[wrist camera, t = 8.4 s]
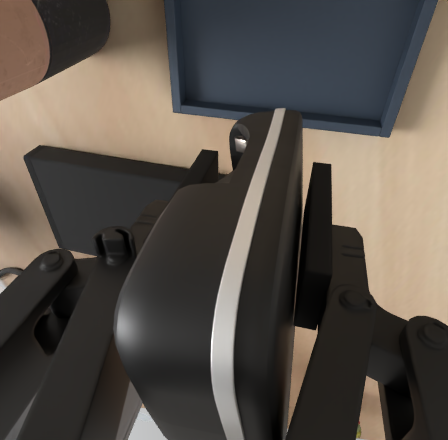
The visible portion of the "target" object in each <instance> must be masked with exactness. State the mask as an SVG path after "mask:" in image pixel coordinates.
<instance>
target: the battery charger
mask: <svg viewBox="0 0 448 440" xmlns="http://www.w3.org/2000/svg"><path fill="white" fill-rule="evenodd" d="M229 142H230V153H231V160H232V167H233V171H232V172H231V173H229V174H228V175H227V176H225V177H224V178H222V179H221V180H219V181H217V182H216V183H203V184H193V185H188V186H186V187H183V188H181V189H178V191H177V192H176V194H175V195H174V197H173V198H172V200H171V201H170V203H169V204H168V205H167V207H166V208H165V210H164V211H163V212H162V214H161V215H160V217H159V218H158V220H157V221H156V223H155V225H154V227H153V228H152V230H151V232H150V234H149V235H148V237H147V239H146V241H145V243H144V245H143V247H142V248H141V250H140V252H139V254H138V256H137V258H136V260H135V262H134V264H133V266H132V267H131V269H130V271H129V273H128V275H127V277H126V280H125V282H124V284H123V286H122V289H121V291H120V293H119V297H118V301H117V304H116V308H115V313H114V326H113V330H114V337H115V344H116V347H117V350H118V353H119V356H120V359H121V361H122V364H123V366H124V369H125V371H126V373H127V375H128V377H129V379H130V380H131V382H132V384H133V386H134V388H135V390H136V391H137V393H138V395H139V397H140V399H141V400H142V402H143V404H144V406H145V408H146V409H147V411H148V412H149V414H150V415H151V417H152V419H153V420H154V422H155V423H156V424H157V426H158V428H159V429H160V430H161V432H162V433H163V435H164V436H165V437H166V438H167V439H168V440H285V438H286V434H287V423H288V411H289V398H290V385H291V373H292V360H293V347H294V334H295V326H293V321H294V311H295V300H296V290H297V280H298V269H299V259H300V248H301V238H302V207H303V139H302V115H301V113H300V112H299V111H297V110H286V108H277V109H275V111H263V112H258V113H254V114H250V115H247V116H245V117H243V118H241V119H240V120H238V121H237V122H236V123H235V124H234V126H233V128H232V130H231V132H230V136H229Z"/></svg>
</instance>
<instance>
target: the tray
mask: <svg viewBox="0 0 448 440" xmlns="http://www.w3.org/2000/svg"><path fill="white" fill-rule="evenodd" d="M437 2H438V0H164V8H165V20H166V32H167V44H168V56H169V68H170V80H171V92H172V104H173V112H174V113H182V114H190V115H199V116H208V117H216V118H225V119H233V120H240V119H241V118H243V117H245V116H247V115H250V114H254V113H258V112H263V111H275V109H277V108H286V110H297V111H299V112H300V113H301V115H302V128H310V129H319V130H328V131H336V132H345V133H353V134H362V135H370V136H379V137H387V138H389V137H390V135H391V132H392V129H393V126H394V123H395V121H396V118H397V115H398V112H399V109H400V106H401V104H402V101H403V98H404V95H405V92H406V90H407V87H408V84H409V81H410V78H411V76H412V73H413V70H414V67H415V64H416V61H417V59H418V56H419V53H420V50H421V47H422V45H423V42H424V39H425V36H426V33H427V31H428V28H429V25H430V22H431V19H432V16H433V14H434V11H435V8H436V5H437Z"/></svg>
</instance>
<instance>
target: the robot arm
mask: <svg viewBox="0 0 448 440" xmlns="http://www.w3.org/2000/svg"><path fill="white" fill-rule="evenodd" d="M217 181H218V151H212V150H203V149H202V151H201V152H200V154H199V155H198V157H197V158H196V160H195V162H194V163H193V165H192V166H191V168H190V169H189V171H188V172H187V174H186V176H185V177H184V179H183V180H182V182H181V183H180V185H179V186H178V188H177V190H176V191H175V193H174V194H173V196H172V197H171V199H170V200H169V201H163V200H157V199H156V200H154V201H153V202H151V203H150V204H148V205H147V206H146V207H145V208H144V210H143V211H142V212H141V214H140V216H139V217H138V218H137V219H136V222H134V224H133V225H132V226H131V228H130V229H128V228H126V227H123V226H111V227H107V228H104V229H102V230H100V231H99V232H97V233H96V234H95V235H94V236H93V237H92V242H93V245H94V248H95V251H96V254H97V257H94V258H84V259H74V256H73V255H72V253H71V252H70V251H68V250H65V249H54V250H49V251H47V252H45V253H43V254H41V255H39V256H38V257H37V258H36V259H34V260H33V261H32V262H31V263H30V264H29V265H28V267H27V268H26V269H25V270H24V271H22V270H19V269H16V268H4V269H2V270H0V277H1V276H3V275H4V274H6V273H12V274H16V275H19V276H18V277H17V278H16V279H15V280H14V281H13V282H12V283H11V284H10V285H9V286H8V287H7V288H6V289H5V290H4V291H3V292H2V293H1V294H0V440H128V437H129V435H130V432H131V430H132V428H133V425H134V423H135V420H136V418H137V415H138V413H139V411H140V408H141V406H142V403H143V402H142V400H141V399H140V397H139V395H138V393H137V391H136V390H135V388H134V386H133V384H132V382H131V380H130V379H129V377H128V375H127V373H126V371H125V369H124V366H123V364H122V361H121V359H120V356H119V353H118V350H117V347H116V344H115V337H114V330H113V326H114V313H115V308H116V304H117V301H118V297H119V293H120V291H121V289H122V286H123V284H124V282H125V280H126V277H127V275H128V273H129V271H130V269H131V267H132V266H133V264H134V262H135V260H136V258H137V256H138V254H139V252H140V250H141V248H142V247H143V245H144V243H145V241H146V239H147V237H148V235H149V234H150V232H151V230H152V228H153V227H154V225H155V223H156V221H157V220H158V218H159V217H160V215H161V214H162V212H163V211H164V210H165V208H166V207H167V205H168V204H169V203H170V201H171V200H172V198H173V197H174V195H175V194H176V192H177V191H178V189H181V188H183V187H186V186H188V185H193V184H203V183H216V182H217ZM317 325H318V334H317V338H316V341H315V344H314V347H313V351H312V354H311V357H310V360H309V364H308V367H307V370H306V373H305V377H304V380H303V383H302V386H301V390H300V393H299V396H298V399H297V403H296V406H295V409H294V412H293V416H292V419H291V422H290V425H289V429H288V432H287V435H286V438H285V440H356V435H357V429H358V423H359V417H360V411H361V405H362V398H363V392H364V386H365V380H366V375H367V376H368V377H370V378H372V379H374V380H376V381H378V387H379V394H380V402H381V409H382V416H383V424H384V431H385V438H386V440H448V326H447V325H446V324H444V323H442V322H440V321H439V320H437V319H434V318H431V317H428V316H416V317H413V318H411V319H409V321H406V320H404V319H402V318H400V317H397V316H395V315H393V314H391V313H389V312H387V311H385V310H384V309H382V308H381V307H380V306H379V305H378V304H377V303H376V301H375V300H374V298H373V296H372V295H371V294H370V292H369V287H368V279H367V270H366V262H365V254H364V245H363V238H362V236H361V235H360V234H359V232H358V231H357V229H356V228H351V227H345V226H338V225H332V183H331V164H324V163H316V162H313V167H312V172H311V178H310V183H309V188H308V193H307V199H306V204H305V209H304V217H303V228H302V238H301V248H300V259H299V269H298V280H297V290H296V300H295V311H294V321H293V326H297V327H302V328H307V329H312V330H316V328H317Z"/></svg>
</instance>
